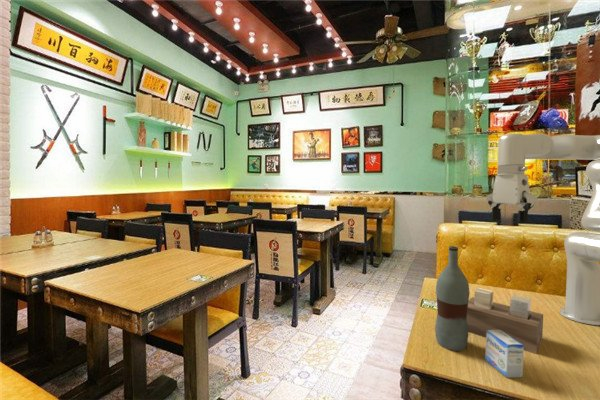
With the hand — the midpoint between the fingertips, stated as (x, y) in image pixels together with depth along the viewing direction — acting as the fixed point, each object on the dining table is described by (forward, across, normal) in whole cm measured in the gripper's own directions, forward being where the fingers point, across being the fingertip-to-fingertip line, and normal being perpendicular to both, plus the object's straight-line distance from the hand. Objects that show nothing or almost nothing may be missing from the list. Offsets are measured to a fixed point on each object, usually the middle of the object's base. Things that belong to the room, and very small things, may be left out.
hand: (508, 221), depth 100 cm
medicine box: (+37, -19, +22) cm, 47 cm away
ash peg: (+32, 0, +9) cm, 33 cm away
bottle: (+37, -5, +27) cm, 46 cm away
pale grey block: (+32, -9, +4) cm, 33 cm away
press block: (+37, -4, +6) cm, 37 cm away
